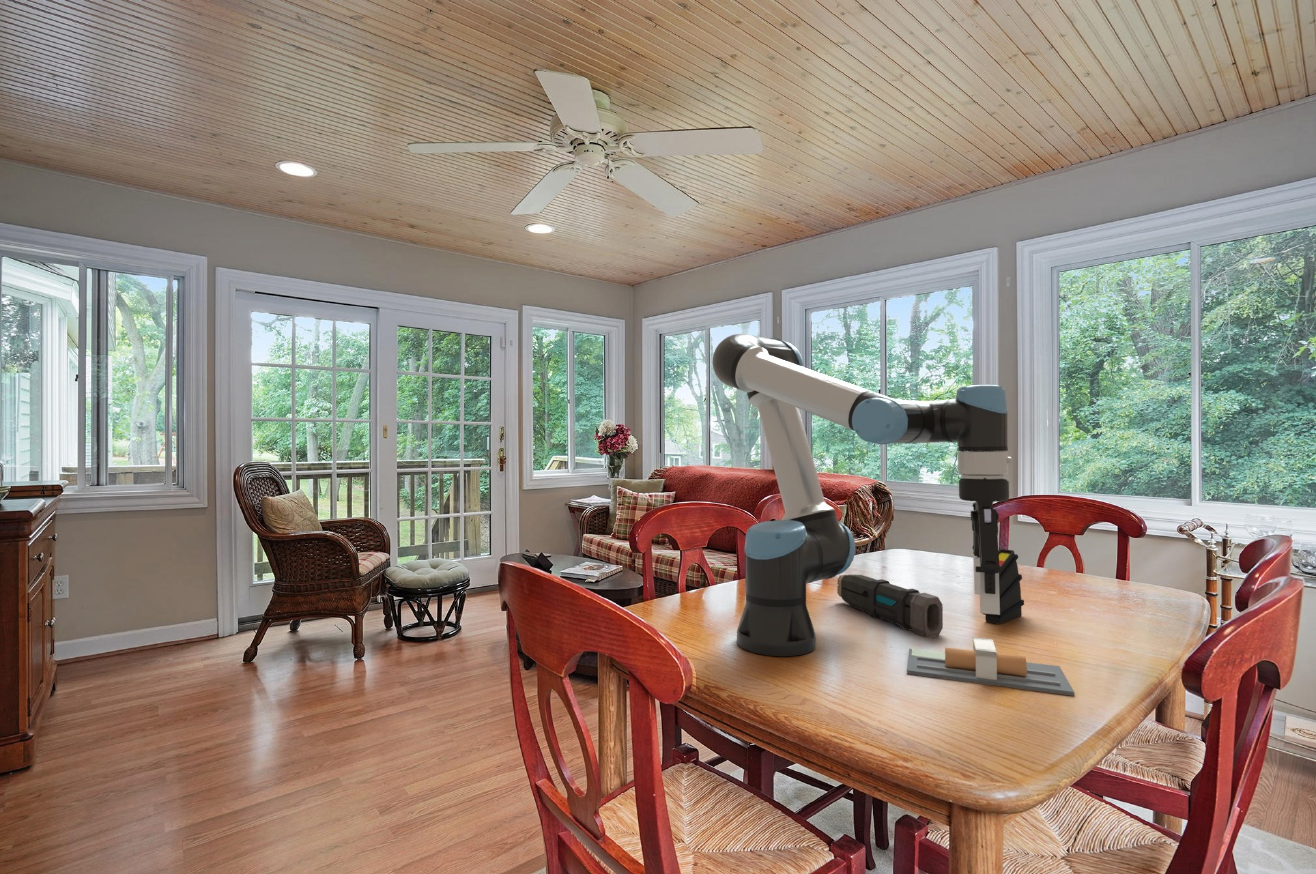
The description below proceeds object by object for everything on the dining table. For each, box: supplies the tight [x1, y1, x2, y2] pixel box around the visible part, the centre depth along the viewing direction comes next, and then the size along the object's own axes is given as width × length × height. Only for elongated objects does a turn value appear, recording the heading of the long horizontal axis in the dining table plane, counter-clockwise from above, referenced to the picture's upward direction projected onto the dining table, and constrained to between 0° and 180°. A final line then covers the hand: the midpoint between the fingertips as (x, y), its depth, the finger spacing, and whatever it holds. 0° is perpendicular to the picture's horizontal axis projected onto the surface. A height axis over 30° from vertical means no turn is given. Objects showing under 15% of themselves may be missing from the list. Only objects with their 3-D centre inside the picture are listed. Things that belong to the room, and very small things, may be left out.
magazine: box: [982, 548, 1025, 625], centre depth 138 cm, size 4×13×15 cm, turn 127°
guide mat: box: [906, 648, 1075, 697], centre depth 107 cm, size 24×12×1 cm, turn 67°
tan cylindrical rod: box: [944, 647, 1027, 677], centre depth 106 cm, size 12×3×3 cm, turn 67°
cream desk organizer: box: [972, 636, 998, 680], centre depth 106 cm, size 3×7×4 cm, turn 157°
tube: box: [837, 574, 944, 639], centre depth 140 cm, size 11×7×30 cm
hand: (986, 603), depth 106 cm, fingers open, 13 cm apart
